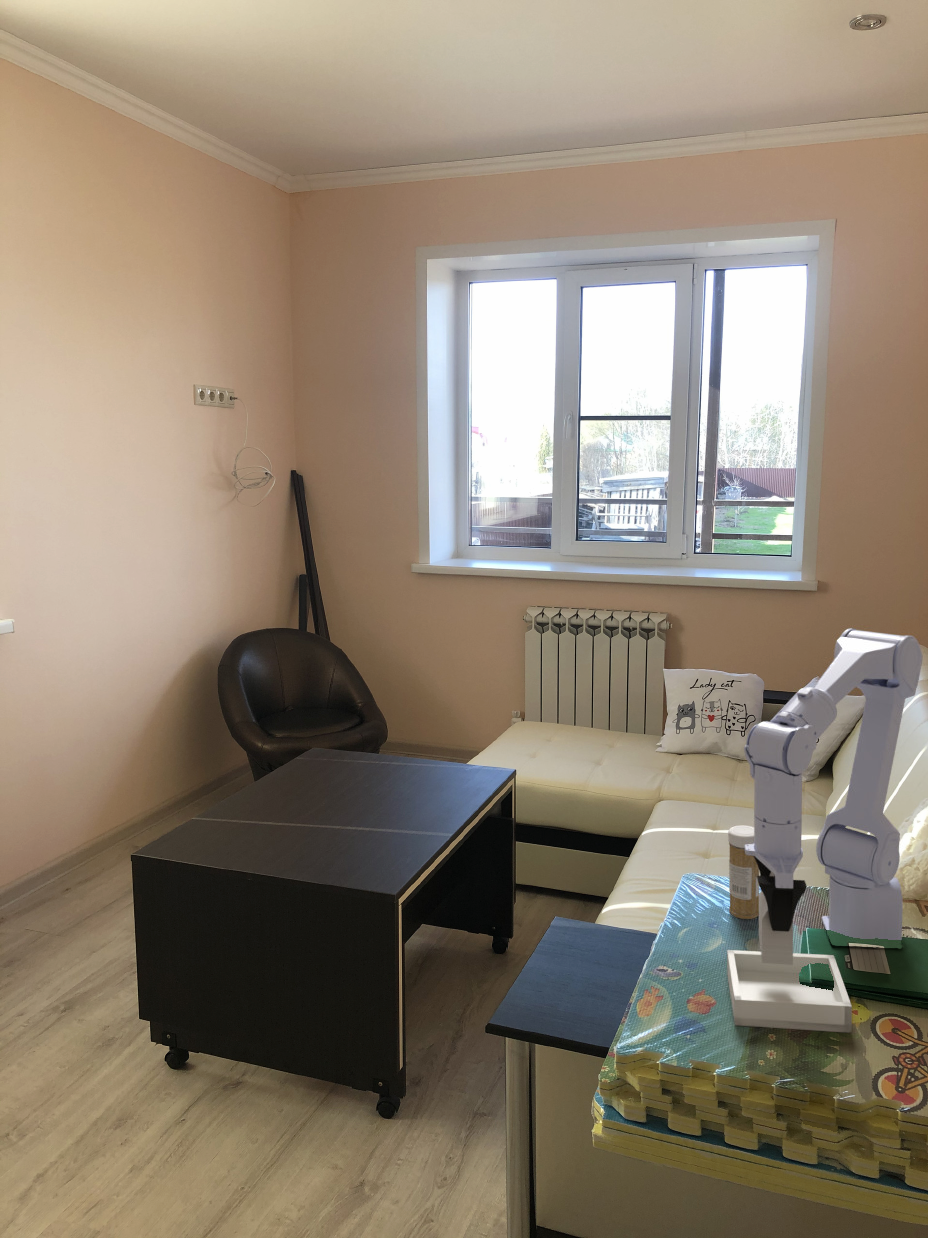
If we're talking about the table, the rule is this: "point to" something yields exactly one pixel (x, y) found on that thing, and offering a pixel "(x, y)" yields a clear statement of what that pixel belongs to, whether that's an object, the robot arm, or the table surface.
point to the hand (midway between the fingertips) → (776, 915)
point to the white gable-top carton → (773, 938)
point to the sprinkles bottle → (743, 874)
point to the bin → (785, 994)
